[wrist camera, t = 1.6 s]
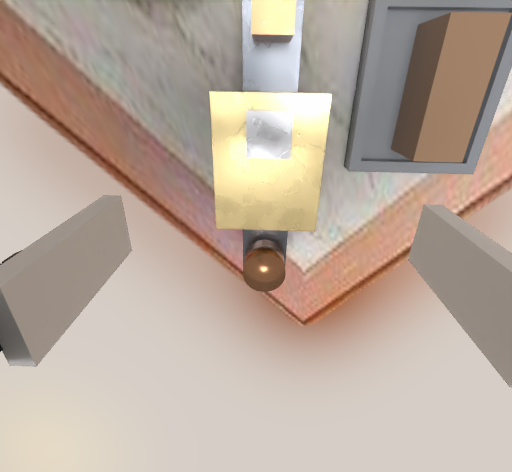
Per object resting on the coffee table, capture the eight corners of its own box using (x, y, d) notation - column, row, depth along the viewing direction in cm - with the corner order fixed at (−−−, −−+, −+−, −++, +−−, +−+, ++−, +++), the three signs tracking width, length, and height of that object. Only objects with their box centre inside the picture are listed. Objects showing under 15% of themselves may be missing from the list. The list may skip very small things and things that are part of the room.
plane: (248, 10, 25) (236, -36, 15) (295, 10, 25) (313, -35, 15) (247, 239, 35) (240, 299, 26) (281, 240, 35) (286, 301, 25)
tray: (369, -4, 25) (398, -28, 19) (518, -2, 24) (589, -26, 19) (344, 165, 31) (360, 183, 26) (461, 168, 31) (502, 187, 25)
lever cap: (215, 90, 22) (206, 92, 19) (325, 92, 22) (335, 94, 18) (220, 216, 26) (213, 235, 23) (311, 218, 26) (317, 238, 23)
